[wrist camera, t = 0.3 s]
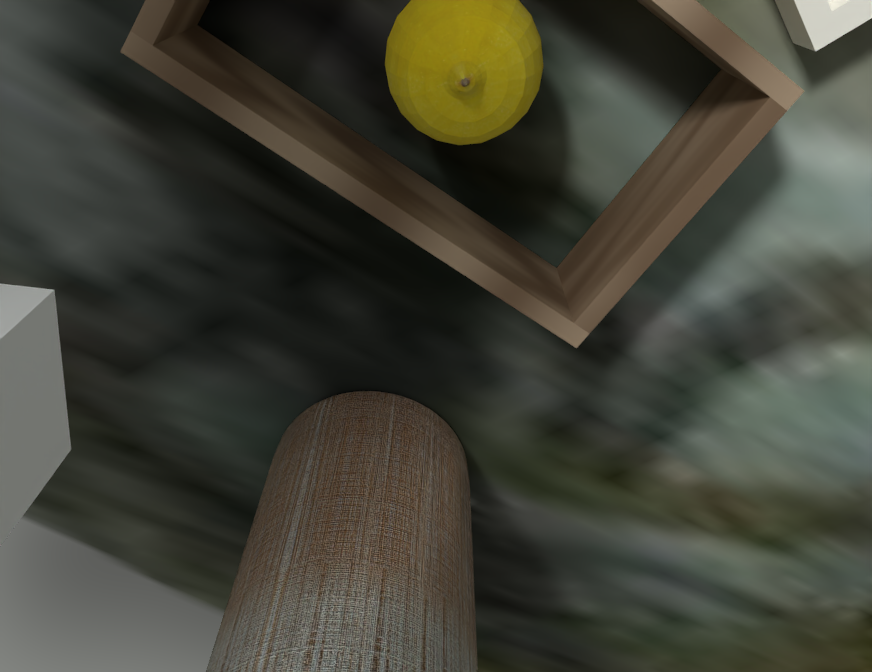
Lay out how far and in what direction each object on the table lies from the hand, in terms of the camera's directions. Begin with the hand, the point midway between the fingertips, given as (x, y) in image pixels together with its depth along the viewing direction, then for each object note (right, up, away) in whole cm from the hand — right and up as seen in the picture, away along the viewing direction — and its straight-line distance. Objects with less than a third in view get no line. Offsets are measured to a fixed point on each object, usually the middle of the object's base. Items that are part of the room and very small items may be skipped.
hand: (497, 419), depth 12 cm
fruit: (0, +13, +20) cm, 24 cm away
